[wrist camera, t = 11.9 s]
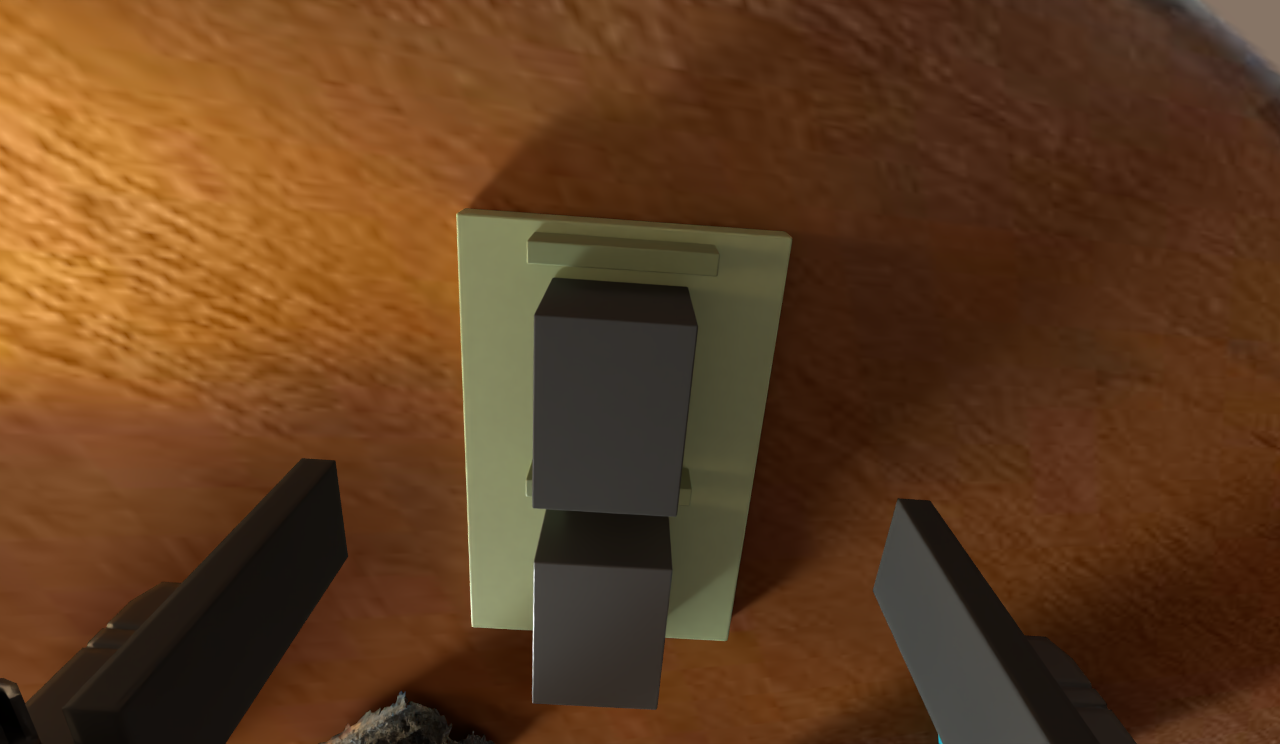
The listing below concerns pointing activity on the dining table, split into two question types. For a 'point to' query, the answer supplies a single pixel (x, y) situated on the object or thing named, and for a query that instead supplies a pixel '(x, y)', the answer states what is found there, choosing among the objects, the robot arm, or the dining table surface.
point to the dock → (708, 419)
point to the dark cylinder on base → (402, 727)
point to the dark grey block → (611, 396)
